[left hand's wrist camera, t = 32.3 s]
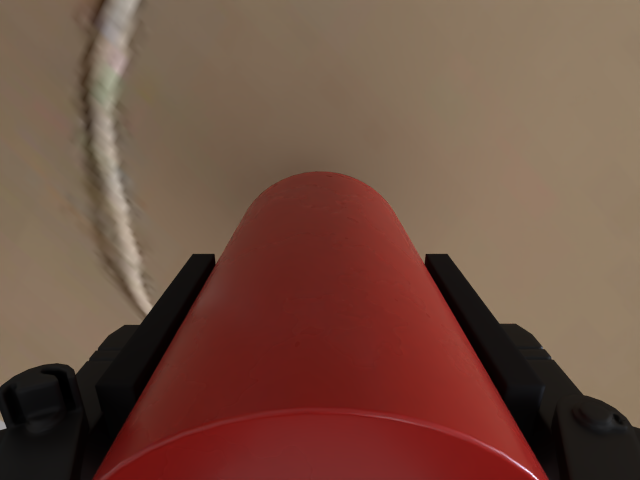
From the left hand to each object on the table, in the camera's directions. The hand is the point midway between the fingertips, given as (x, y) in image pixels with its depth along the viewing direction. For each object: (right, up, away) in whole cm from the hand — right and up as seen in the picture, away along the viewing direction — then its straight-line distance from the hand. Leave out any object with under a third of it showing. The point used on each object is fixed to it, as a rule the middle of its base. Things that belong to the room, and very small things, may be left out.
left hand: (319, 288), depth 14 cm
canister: (0, +1, +3) cm, 3 cm away
